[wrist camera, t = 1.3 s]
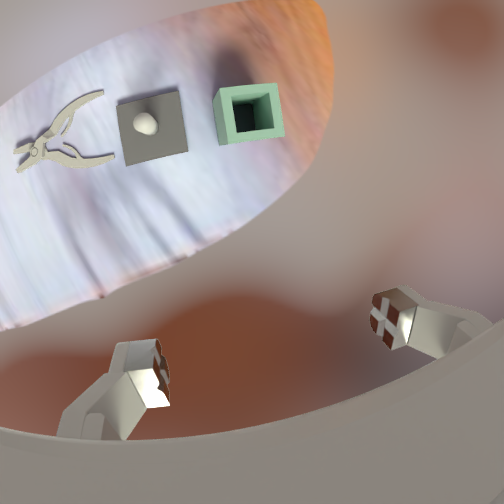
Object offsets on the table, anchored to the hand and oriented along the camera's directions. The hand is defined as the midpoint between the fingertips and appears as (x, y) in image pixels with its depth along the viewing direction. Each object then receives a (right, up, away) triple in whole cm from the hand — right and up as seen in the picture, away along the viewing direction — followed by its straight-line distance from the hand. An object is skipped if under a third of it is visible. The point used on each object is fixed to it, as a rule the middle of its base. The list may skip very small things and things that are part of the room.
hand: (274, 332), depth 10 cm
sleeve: (-2, +20, +24) cm, 31 cm away
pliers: (-26, +17, +19) cm, 37 cm away
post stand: (-13, +18, +22) cm, 31 cm away
